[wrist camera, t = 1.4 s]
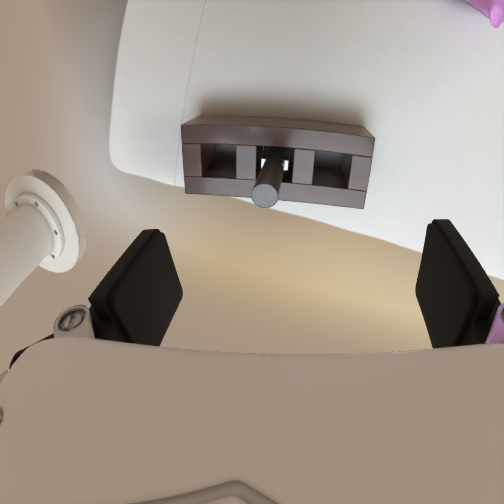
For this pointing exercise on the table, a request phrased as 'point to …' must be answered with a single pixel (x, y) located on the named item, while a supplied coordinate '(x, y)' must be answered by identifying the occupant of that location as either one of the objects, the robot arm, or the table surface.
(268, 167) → the grey handled tool
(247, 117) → the utensil block
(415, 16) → the table surface
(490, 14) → the teapot
